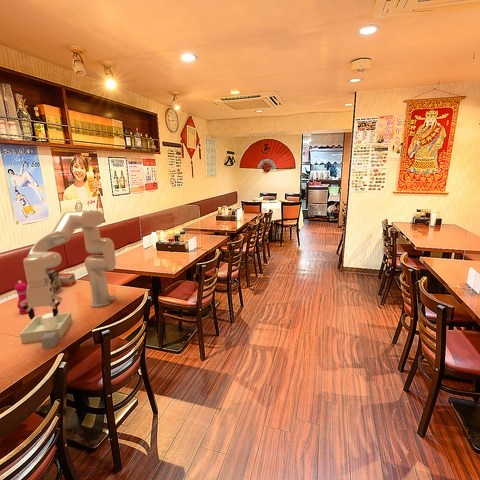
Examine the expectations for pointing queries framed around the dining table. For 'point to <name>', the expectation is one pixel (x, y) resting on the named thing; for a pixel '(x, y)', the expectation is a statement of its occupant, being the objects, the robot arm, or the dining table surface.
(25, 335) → the tote
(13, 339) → the dining table surface
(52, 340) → the cube
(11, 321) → the dining table surface
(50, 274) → the coffee box
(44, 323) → the shot glass
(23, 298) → the pepper mill
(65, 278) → the medicine box
